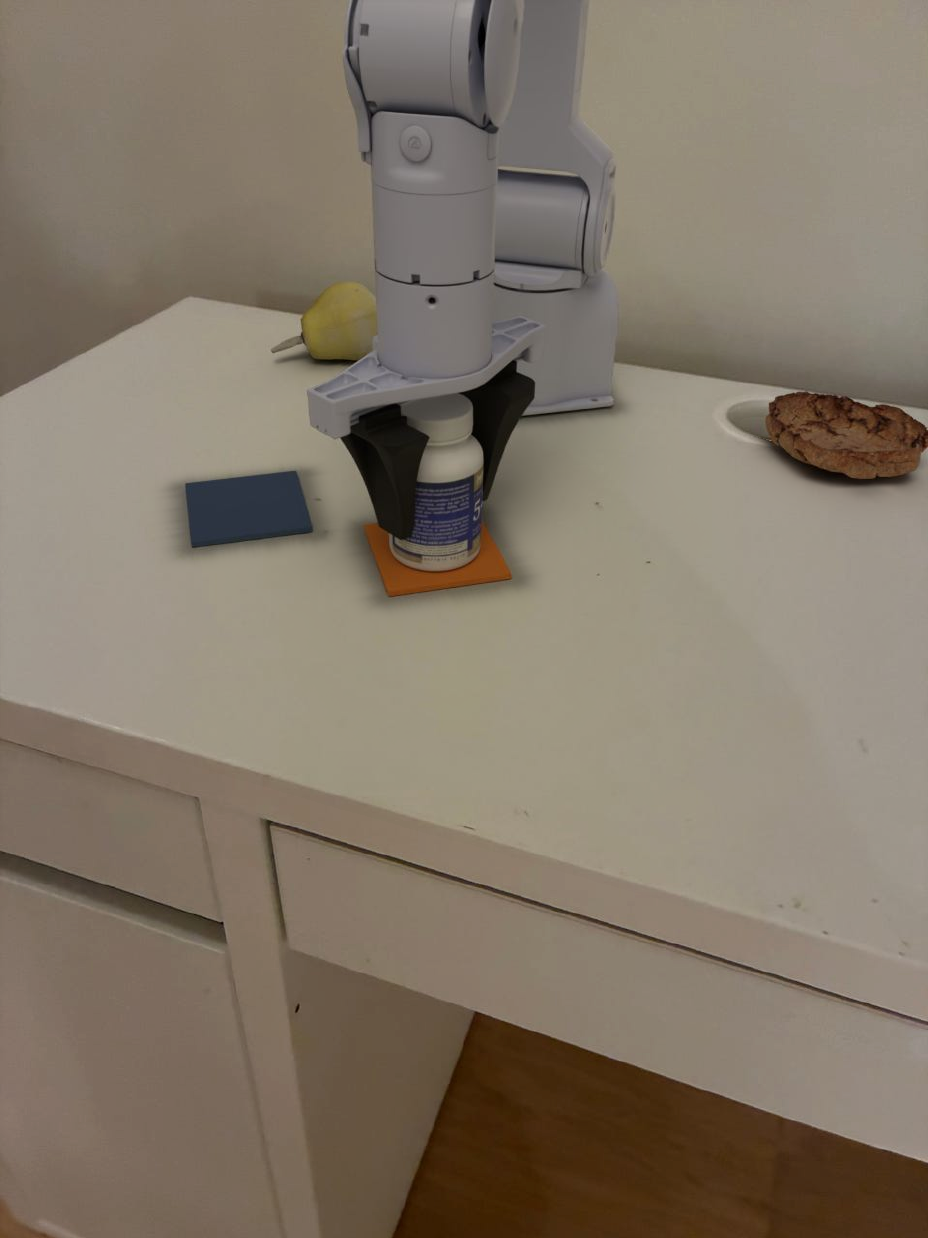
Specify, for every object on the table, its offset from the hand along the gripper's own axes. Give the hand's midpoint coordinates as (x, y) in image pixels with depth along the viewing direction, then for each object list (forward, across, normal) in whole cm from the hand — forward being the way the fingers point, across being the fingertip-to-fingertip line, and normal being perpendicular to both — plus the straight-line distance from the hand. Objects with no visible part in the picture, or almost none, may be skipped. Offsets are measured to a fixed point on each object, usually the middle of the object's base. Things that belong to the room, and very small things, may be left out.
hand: (435, 512), depth 55 cm
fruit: (+3, -13, -26) cm, 30 cm away
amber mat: (+3, 0, 0) cm, 3 cm away
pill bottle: (+3, 0, 0) cm, 3 cm away
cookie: (0, -28, +10) cm, 30 cm away
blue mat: (+3, +5, -11) cm, 13 cm away
